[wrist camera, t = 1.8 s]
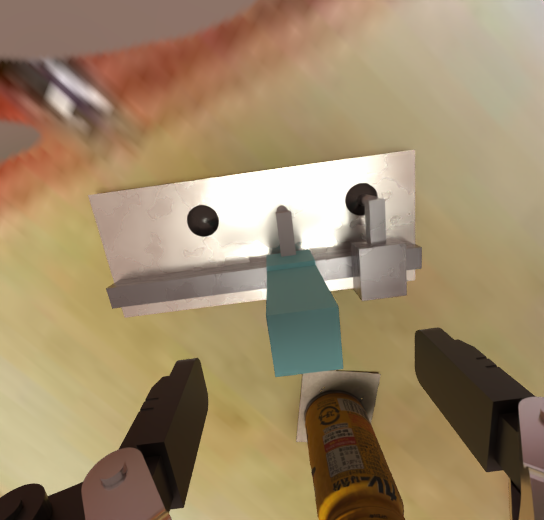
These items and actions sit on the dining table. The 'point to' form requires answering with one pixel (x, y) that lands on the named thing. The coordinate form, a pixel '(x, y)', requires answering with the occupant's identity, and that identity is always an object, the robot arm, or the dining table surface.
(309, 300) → the leg
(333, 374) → the condiment
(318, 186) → the hole plate
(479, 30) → the dining table surface
